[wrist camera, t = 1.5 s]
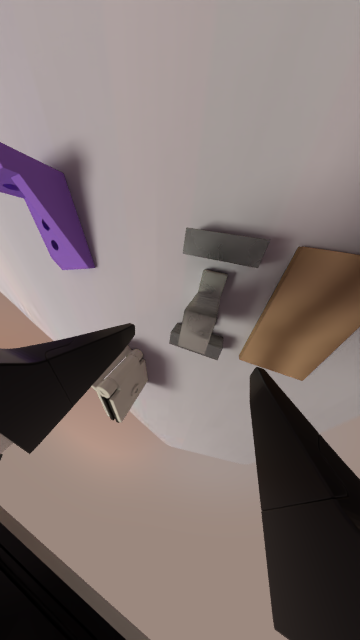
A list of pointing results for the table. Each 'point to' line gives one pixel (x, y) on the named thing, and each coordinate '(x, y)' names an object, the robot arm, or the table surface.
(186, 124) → the table surface
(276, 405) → the robot arm
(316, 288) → the walnut pad
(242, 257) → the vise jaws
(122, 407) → the hinge
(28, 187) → the bracket
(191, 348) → the grey flared bar
